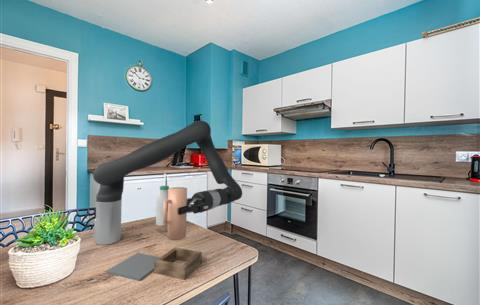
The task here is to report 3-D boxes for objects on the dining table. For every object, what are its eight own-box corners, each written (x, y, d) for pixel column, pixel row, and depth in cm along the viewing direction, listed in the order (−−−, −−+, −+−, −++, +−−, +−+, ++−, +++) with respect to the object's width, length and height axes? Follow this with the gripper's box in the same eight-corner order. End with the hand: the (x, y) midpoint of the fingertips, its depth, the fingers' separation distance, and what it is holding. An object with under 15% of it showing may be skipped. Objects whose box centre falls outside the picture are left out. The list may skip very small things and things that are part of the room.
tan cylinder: (177, 232, 76) (178, 186, 76) (189, 235, 72) (190, 188, 72) (157, 240, 69) (158, 190, 68) (169, 244, 65) (170, 192, 65)
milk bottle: (166, 227, 109) (167, 187, 109) (152, 225, 111) (153, 186, 111) (174, 222, 117) (174, 185, 117) (161, 221, 118) (161, 184, 118)
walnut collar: (154, 272, 68) (154, 261, 68) (174, 256, 78) (174, 247, 78) (184, 279, 65) (184, 268, 65) (201, 262, 75) (202, 252, 75)
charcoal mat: (106, 272, 67) (106, 270, 67) (137, 254, 80) (137, 252, 80) (139, 281, 63) (139, 279, 63) (167, 260, 76) (167, 258, 76)
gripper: (193, 188, 87) (157, 195, 73) (221, 193, 80) (187, 201, 65) (192, 207, 87) (157, 217, 73) (220, 213, 80) (186, 226, 65)
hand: (171, 209), depth 69 cm, fingers closed on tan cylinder, 6 cm apart
